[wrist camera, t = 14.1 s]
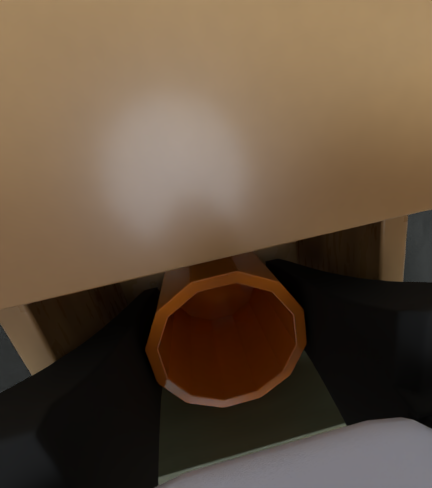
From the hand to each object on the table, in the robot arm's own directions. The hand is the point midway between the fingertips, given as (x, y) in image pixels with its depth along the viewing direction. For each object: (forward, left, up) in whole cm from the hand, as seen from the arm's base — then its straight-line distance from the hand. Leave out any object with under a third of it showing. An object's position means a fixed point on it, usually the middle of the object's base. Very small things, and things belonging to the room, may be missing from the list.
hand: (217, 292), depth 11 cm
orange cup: (0, 0, -1) cm, 1 cm away
